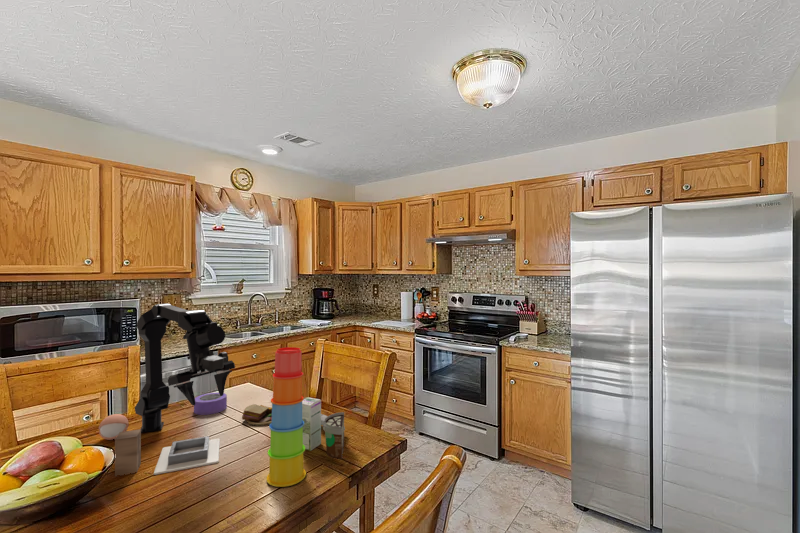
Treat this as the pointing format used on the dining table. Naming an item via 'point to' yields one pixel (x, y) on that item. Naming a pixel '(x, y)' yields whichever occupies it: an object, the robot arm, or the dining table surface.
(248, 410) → the toy sandwich meal
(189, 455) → the collar
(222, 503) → the dining table surface
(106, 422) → the toy ball
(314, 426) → the syrup box
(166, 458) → the mat
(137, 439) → the walnut block
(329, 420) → the food container
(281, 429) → the stacking cups
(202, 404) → the tape roll
